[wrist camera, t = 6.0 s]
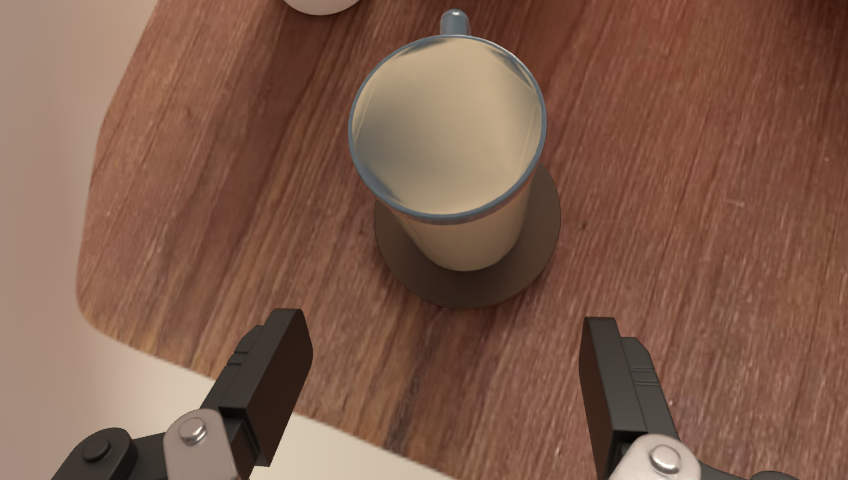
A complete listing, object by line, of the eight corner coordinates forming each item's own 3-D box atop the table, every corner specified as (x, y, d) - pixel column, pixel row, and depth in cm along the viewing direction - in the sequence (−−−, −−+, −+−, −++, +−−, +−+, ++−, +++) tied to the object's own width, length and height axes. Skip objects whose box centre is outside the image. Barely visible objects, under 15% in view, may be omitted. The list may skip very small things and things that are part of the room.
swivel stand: (375, 308, 28) (368, 306, 26) (383, 140, 30) (378, 130, 28) (560, 312, 26) (564, 310, 25) (555, 135, 28) (558, 124, 27)
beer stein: (403, 272, 26) (340, 220, 16) (409, 110, 28) (357, -35, 17) (526, 274, 25) (549, 219, 15) (524, 106, 27) (543, -50, 17)
